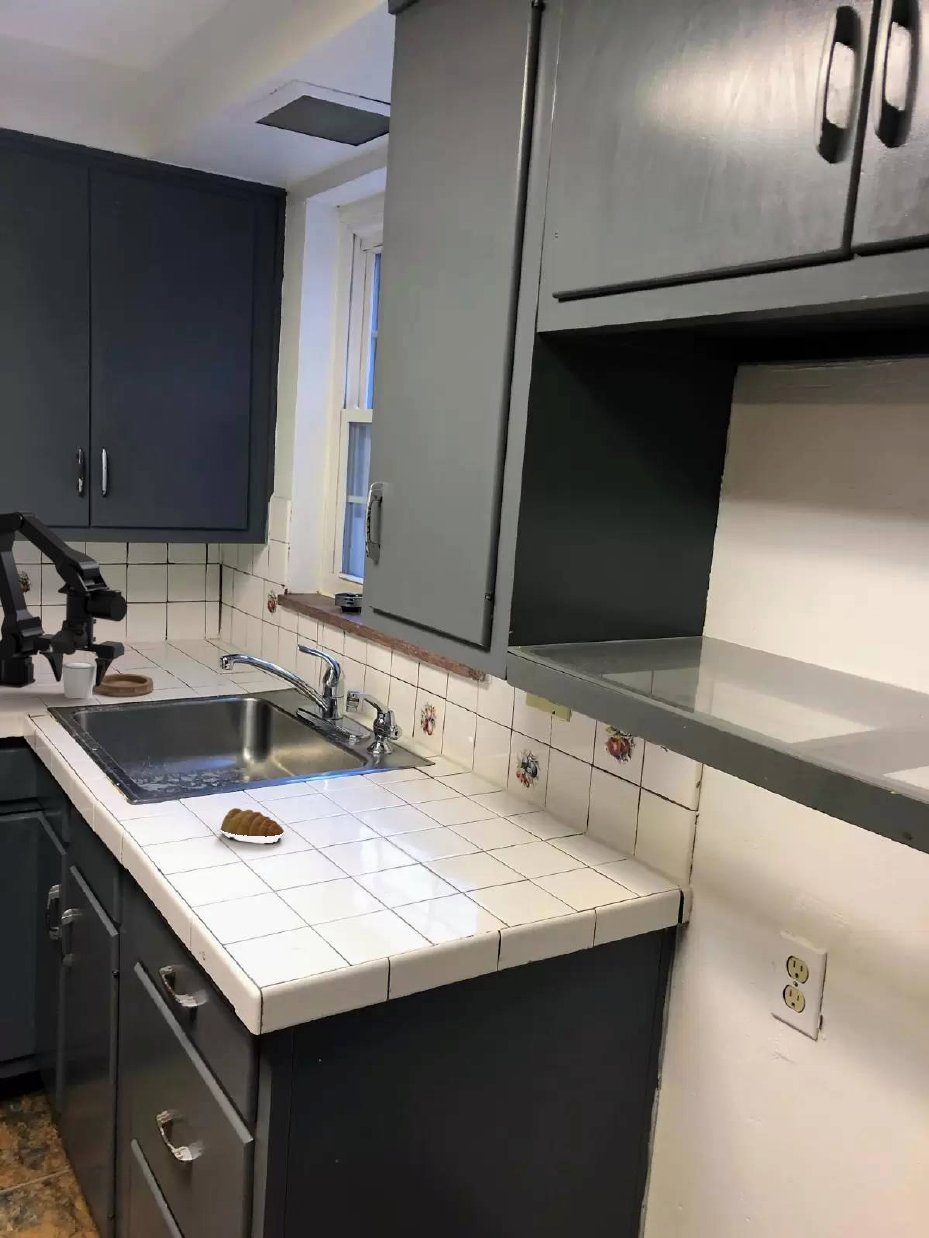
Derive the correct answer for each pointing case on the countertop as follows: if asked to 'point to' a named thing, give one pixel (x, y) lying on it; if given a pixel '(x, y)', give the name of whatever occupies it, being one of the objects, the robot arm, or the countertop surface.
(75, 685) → the white canister
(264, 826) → the pastry
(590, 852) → the countertop surface
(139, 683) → the round wooden tray
